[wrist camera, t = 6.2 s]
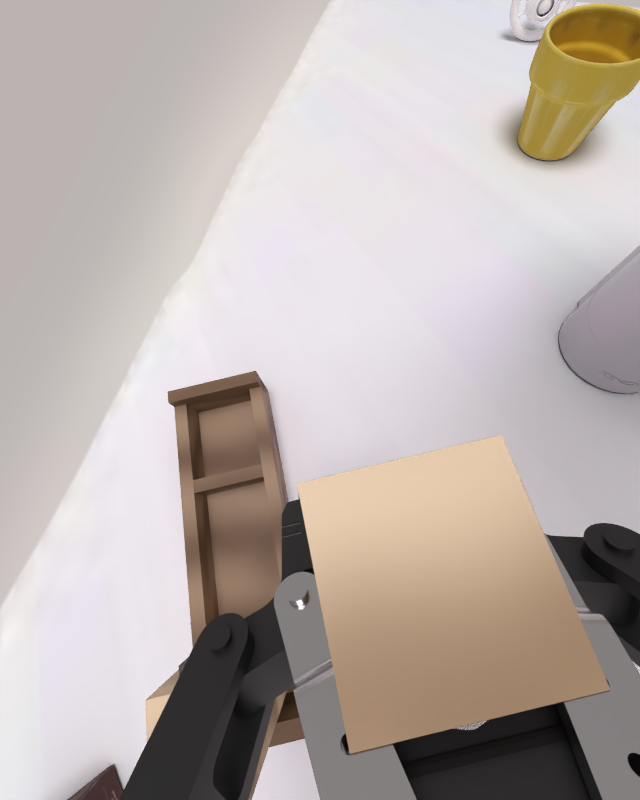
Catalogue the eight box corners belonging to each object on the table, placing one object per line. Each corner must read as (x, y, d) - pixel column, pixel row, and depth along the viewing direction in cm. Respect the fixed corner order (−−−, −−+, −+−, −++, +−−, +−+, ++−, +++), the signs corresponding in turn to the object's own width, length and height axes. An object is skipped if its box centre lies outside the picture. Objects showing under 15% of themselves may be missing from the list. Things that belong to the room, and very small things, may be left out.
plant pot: (482, 134, 41) (522, 24, 32) (551, 104, 42) (609, -11, 33) (536, 185, 38) (598, 78, 29) (610, 152, 39) (693, 38, 30)
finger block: (327, 502, 17) (297, 483, 6) (403, 484, 17) (501, 434, 6) (348, 600, 15) (356, 788, 5) (432, 580, 15) (624, 723, 5)
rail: (191, 408, 31) (105, 348, 20) (267, 390, 32) (225, 320, 20) (221, 720, 23) (105, 912, 12) (324, 694, 23) (305, 862, 12)
